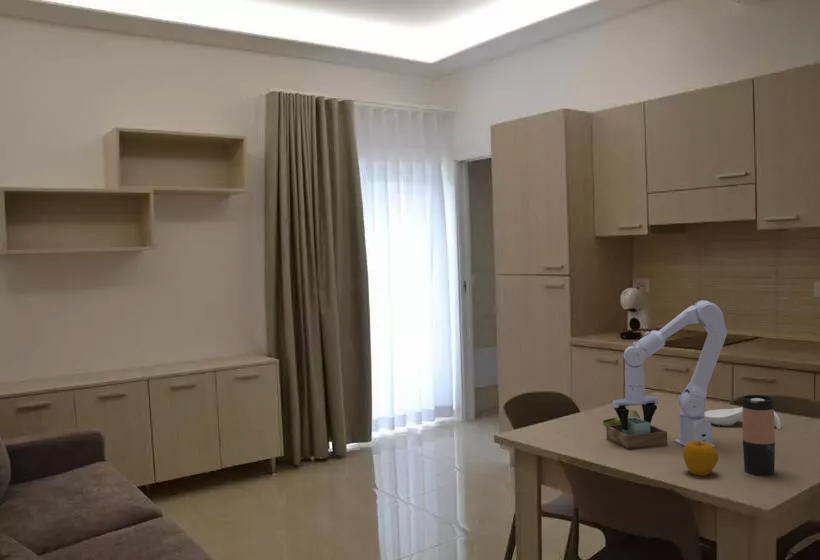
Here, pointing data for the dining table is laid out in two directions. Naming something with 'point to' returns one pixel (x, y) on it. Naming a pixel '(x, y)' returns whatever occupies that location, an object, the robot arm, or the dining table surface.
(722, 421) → the spoon rest
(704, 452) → the apple
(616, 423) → the fennel bulb
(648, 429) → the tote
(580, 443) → the dining table surface
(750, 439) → the travel mug
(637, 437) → the crate
